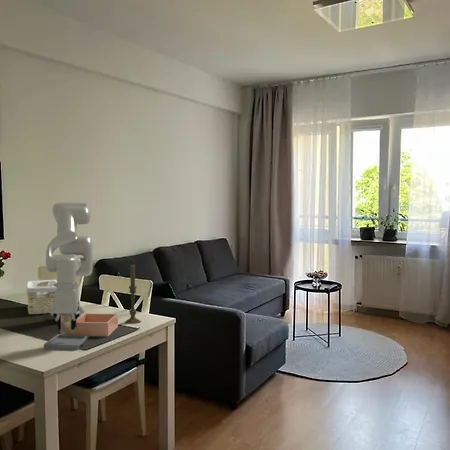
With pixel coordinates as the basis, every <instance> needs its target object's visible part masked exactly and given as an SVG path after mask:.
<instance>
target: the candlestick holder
mask: <svg viewBox="0 0 450 450" xmlns="http://www.w3.org/2000/svg"><path fill="white" fill-rule="evenodd" d="M129 266H130V268H129V269H130V285H129V286H128V289H129V293H130V303H131V305H130V307H131V308H130V310H129V311H128V312H129V315H130V317H129V318H128V319H127V320H125V321H124V323H125V324H127V325H136V324H137V325H138V324H140V323H142V321H141V320H140V319H139V318H137V317H136V314H137V310H136V309H135V301H136V296H135V294H136V293H137V288H138V287H137V286H136V264H130V265H129Z"/></svg>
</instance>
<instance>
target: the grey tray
mask: <svg viewBox="0 0 450 450" xmlns="http://www.w3.org/2000/svg"><path fill="white" fill-rule="evenodd" d="M89 338H90V336H89V335H73V334H67V335H64V334H61V333H59V334H56V335H54V336H53V337H52V338H50V339H49V340H48V341H46V342H45V343H44V344H43V349H44V350H63V351H64V350H67V351H70V350H71V351H79V349H81V348H82V347H83V343H85V342H86V340H88V339H89Z"/></svg>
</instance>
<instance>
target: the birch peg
mask: <svg viewBox="0 0 450 450" xmlns="http://www.w3.org/2000/svg"><path fill="white" fill-rule="evenodd" d="M71 321H72V316H71V314H61V329H60V334H64V335H73V330H71Z"/></svg>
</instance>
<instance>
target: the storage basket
mask: <svg viewBox="0 0 450 450" xmlns="http://www.w3.org/2000/svg"><path fill="white" fill-rule="evenodd" d="M55 283H57V278H56V279H43V280H29V281H27V282H26V294H27V295H26V296H27V312H28V315H42V314H51V313H50V312H49V311H50V310H51V308H52V307H53V301H54V293H55V290H56V289H57V287H54V284H55ZM40 286H41V287H40Z"/></svg>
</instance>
